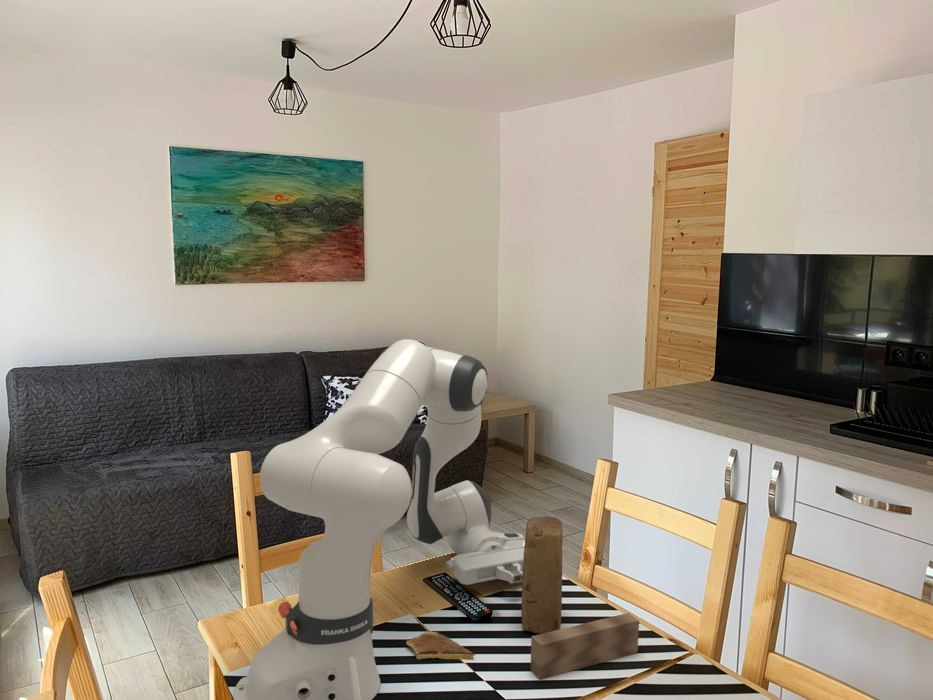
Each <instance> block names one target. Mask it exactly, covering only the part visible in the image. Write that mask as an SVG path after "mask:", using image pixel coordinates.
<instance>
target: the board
mask: <svg viewBox="0 0 933 700" xmlns="http://www.w3.org/2000/svg"><path fill="white" fill-rule="evenodd" d="M639 630H640V620H639V619H637V617H634V615H633V614H630V613H629V612H626V613H621V614H618V615H613V616H610V617H606V618H601V619H597V620H593V621H589V622H585V623H584V622H583V623H582V624H576V625H573V626H568V627H564V628H560V629H559V630H556V631H551V632H547V633H543V634H540V633H538V634H536V635H532V636H531V640H530V643H531V644H530V671H531V673H533V674H534V675H535V677H537V678H538V679H539V680H540V679H541V680H544V679H547V678H551V677H554V675H555V676H559V675H563V674H566V673H569V671H570V672H573V671H576V670H581V669H584V668H587V667H591V666H594V665H598V663H599V664H602V663H605V662H610V661H613V660H616V659H621V658H624V657H628V656H631V654H632V655H634V654H637V653H638V650H639V633H640V631H639ZM627 655H628V656H627ZM558 674H559V675H558ZM543 678H544V679H543Z"/></svg>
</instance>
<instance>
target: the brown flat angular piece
mask: <svg viewBox="0 0 933 700" xmlns="http://www.w3.org/2000/svg"><path fill="white" fill-rule="evenodd" d="M405 643H406V645H407V646H408V647H409V648H411V649H412V650H413V651H414V654H415V657H416V660H423V659H424V660H425V659H427V658H428V659H435V658H439V659H440V660H459V659H460V660H472V659H474V657H475V656H476V653H475V652H472V651H470V650H469V649H467V648H466V647H464V646H461V645H460V644H459V643H458V642H456V641H454V640H452V639H451V638H449V637H447V636H445V635H444V634H441V633H439V632H438V631H427V632H424V633H421V634H419V635H417V636H415V637H413V638H410V639H408V640H406V642H405ZM471 658H472V659H471Z"/></svg>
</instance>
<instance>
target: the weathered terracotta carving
mask: <svg viewBox="0 0 933 700" xmlns="http://www.w3.org/2000/svg"><path fill="white" fill-rule="evenodd" d="M524 540H525V546H524V559H523V574H522V581H521V624H522V627H523V629H524V630H526V631H527V632H531V633H535V634H543V633H547V632H551V631H556V630H560V629H561V624H562V605H563V604H562V603H563V600H562V599H563V598H562V597H563V540H564V538H563V524H562V521H561V520H560V519H559V518H558V517H554V516H553V517H552V516H533V517H530V518H529V519H528V520H527V522H526V528H525V537H524Z"/></svg>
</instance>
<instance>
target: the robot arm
mask: <svg viewBox="0 0 933 700" xmlns="http://www.w3.org/2000/svg"><path fill="white" fill-rule="evenodd" d="M488 378H489V377H488V372H487V368H486V367H485V365H484V364H483V363H482V361H481V360H479V359H477V358H476V357H472V356H470V355H469V354H468V355H467V354H465V355H461V354H458V353H455V352H453V351H448V350H444V349H440V348H436V347H431V346H426V345H425V344H424V343H422V342H420V341H417V340H416V339H408V338H405V339H404V338H403V339H400V340H397V341H395V342H393V344H391V345H389V346H387V347H386V348H385V349H384V350H383V351H382V352H381V353H380V354H379V356H378V358H377V359H376V360H375V361H374V362H373V364H372V365H371V366H370V367H369V369H368V370H367V371H366V373H365V374H364V376H363V377H362V378H361V380H360V381H359V383H358V384H357V386H356V387H355V388H354V390H353V391H352V392H351V394H350V395H349V397H348V398H347V400H346V401H345V402H344V403H343V404H342V405H341V406H340V407H339V408H338V409H337V410H336V412H334V413H333V414H332V415H330V417H328V418H327V419H326V420H323V422H321V423H320V424H318V425H317V426H315V428H313V429H311V430H310V431H308V432H307V433H305V434H303V435H301V436H299V437H297V438H295V439H292V440H290V441H287V442H286V441H285V442H284V443H280V444H278V445H275V447H273V448H272V449H271V450H270V451H269V453H267V455H266V456H265V458H264V460H263V462H262V465H261V468H260V471H259V472H260V473H259V474H260V475H259V481H260V482H259V483H260V487H261V490H262V493H263V495H264V496H265V498H266V499H268V500H269V501H271V502H273V503H275V504H276V505H278V506H280V507H283V508H284V509H286V510H288V511H291V512H294V513H299V514H303V515H307V516H312V517H316V518H319V519H323V522H324V535H323V537H321V538H319V539H317V540H315V541H314V542H313V541H312V543H310V544H309V545H308V546H307V547H306V548H305V549H304V551H303V552H302V554H301V556H300V557H299V559H298V565H297V566H298V567H297V569H298V574H297V575H298V576H297V577H298V580H297V581H298V601H297V603H296V604H295V605H294V606H293V607H292V605H291V603H290V602H288V601H282V602H281V603H280V604H279V605H278V608H277V610H278V613H279V615H280V617H281V618H282V619H285V628H284V629H283V630H282V631H281V632H279V633H278V634H277V635H275V636H274V637H273V638H272V639H271V640H269V641H268V642H267V643H265V644H264V645H263V646H262V647H261V648H259V649H258V650H257V651H256V652H255V654H254V656H253V658H252V661H251V665H250V667H249V674H248V675H247V676H245V677H242V678H241V679H240V680H239V681H238V682H237V684H236V686H235V688H234V692H233V700H373V699H374V698H375V697H376V696H377V694H378V692H379V691H380V688H381V678H380V675H379V672H378V669H377V665H376V660H375V656H374V655H375V654H374V653H375V652H374V647H373V639H372V634H373V632H374V624H375V621H374V620H375V615H374V614H375V611H374V609H375V608H374V604H373V603H374V601H373V599H372V598H371V577H372V576H371V574H372V573H371V572H372V560H373V554H374V552H375V549H376V545H377V543H378V541H379V539H380V537H382V535H383V534H384V532H386V531H387V530H388V529H390V528H391V527H392V526H394V525H396V524H397V523H398V522H399V521H400V520H401V519H402V517H403V516H404V515H405V513H406V521H407V527H408V529H409V532H410V534H411V536H412V537H413V538H414V539H415V540H417V541H419V542H421V543H424V544H427V545H432V544H434V543H436V542H438V541H440V540H442V539H443V538H444V540H445V541H446V543H447V544H448V546H449V547H450V548H451V550H452V551H453V552H454V553H455V554H456V555H455V556H454V557H450V558H449V560H446V561H445V564H446V567H447V568H449V570H452V574H453V575H454V577H455V579H456V580H457V581H458V583H460V584H462V585H467V586H469V585H473V584H477V583H485V582H488V581H493V580H501V581H502V580H503V581H505V582H508V583H509V584H515V583H522V574H523V559H524V546H525V537H524V535H523V534H522V533H508V532H507V533H503V532H500V531H499V532H498V531H492V530H490V529H489V527H490V525H491V521H492V515H493V514H492V513H493V512H492V505H491V501H490V498H489V496H488V494H487V492H486V491H485V489H483V487H482V486H480V485H479V484H477V483H476V482H474V481H472V480H470V479H469V480H468V479H466V480H463V481H461V482H458V483H456V484H453V485H451V486H448V487H447V488H444V489H441V490H439V491H436V492H435V489H436V478H437V474H438V473H439V471H440V470H441V469H442V468H443V467H444V466H445V465H446V464H447V463H448V462H449V461H451V460H452V459H453V458H454V457H456V456H458V455H459V454H461V452H463V451H464V450H466V449H467V448H468V447H470V446H471V445H472V444H473V443H474V442H475V440H476V439H477V437H478V436H479V434H480V430H481V427H482V407H481V404H482V403H483V400H484V398H485V396H486V394H487V390H488V382H489V381H488V380H489V379H488ZM422 406H424V407H427V408H426V409H427V420H426V424H425V428H424V429H423V432H422V434H421V436H419V438H418V439H417V441H416V442H415V444H414V450H413V458H412V465H411V466H412V468H411V470H412V471H411V478H410V475H409V473H408V471H407V469H406V468H405V466H404V465H402V464H401V463H398V461H397V462H396V461H394V460H392V459H390V458H387V457H385V456H384V455H381V454H382V453H385V452H387V451H390V450H392V449H394V448H395V447H396V446H397V445H398V444H399V443H400V442H401V441H402V440H403V438H404V436H405V434H406V433H407V431H408V429H409V428H410V426H411V425H412V422H413V421H414V420H415V417H416V416H417V414H418V413H419V412H420V409H421V407H422Z"/></svg>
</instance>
